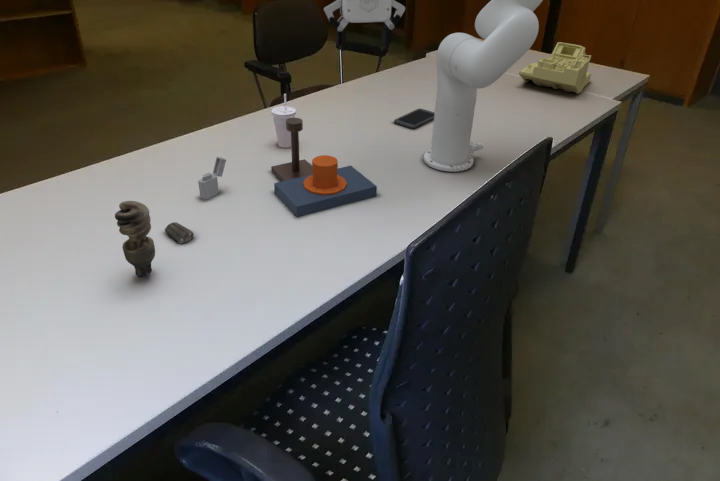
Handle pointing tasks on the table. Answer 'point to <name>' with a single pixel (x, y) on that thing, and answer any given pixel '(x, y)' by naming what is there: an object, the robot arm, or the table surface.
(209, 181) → the lighter
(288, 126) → the hat stand
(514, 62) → the robot arm
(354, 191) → the low stand
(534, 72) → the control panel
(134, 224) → the light bulb
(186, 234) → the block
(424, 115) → the cell phone
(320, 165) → the hat
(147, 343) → the table surface
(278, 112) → the smoothie
